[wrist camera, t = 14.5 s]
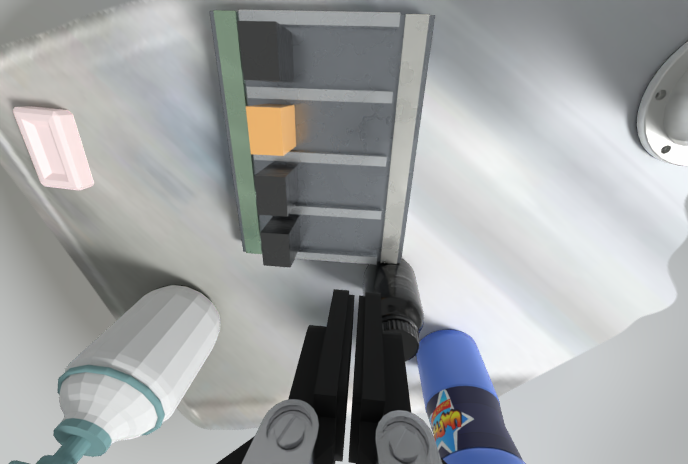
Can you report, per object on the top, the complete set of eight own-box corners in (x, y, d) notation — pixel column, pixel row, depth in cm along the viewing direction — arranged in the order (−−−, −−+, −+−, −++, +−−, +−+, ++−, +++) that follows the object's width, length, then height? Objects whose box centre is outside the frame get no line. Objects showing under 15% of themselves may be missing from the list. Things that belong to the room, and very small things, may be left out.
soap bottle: (148, 266, 42) (-283, 610, 14) (232, 290, 43) (-29, 664, 15) (150, 327, 48) (-159, 660, 20) (224, 347, 48) (24, 697, 20)
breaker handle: (294, 104, 29) (280, 107, 25) (296, 146, 31) (283, 155, 26) (265, 103, 29) (245, 106, 25) (268, 144, 31) (250, 154, 26)
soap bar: (74, 110, 34) (54, 111, 31) (97, 185, 38) (80, 191, 36) (30, 105, 34) (6, 106, 32) (58, 181, 38) (39, 187, 36)
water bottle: (403, 356, 46) (432, 611, 23) (440, 319, 42) (519, 582, 20) (450, 380, 47) (521, 642, 25) (491, 346, 43) (619, 620, 21)
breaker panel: (430, 20, 27) (448, -1, 21) (399, 254, 38) (404, 287, 32) (219, 16, 28) (176, -6, 22) (249, 244, 39) (225, 273, 33)
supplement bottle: (353, 271, 40) (346, 339, 29) (395, 245, 37) (404, 308, 27) (383, 304, 42) (387, 378, 31) (424, 281, 39) (444, 353, 29)
